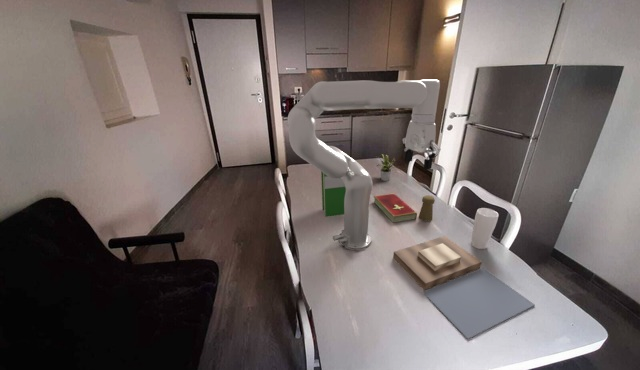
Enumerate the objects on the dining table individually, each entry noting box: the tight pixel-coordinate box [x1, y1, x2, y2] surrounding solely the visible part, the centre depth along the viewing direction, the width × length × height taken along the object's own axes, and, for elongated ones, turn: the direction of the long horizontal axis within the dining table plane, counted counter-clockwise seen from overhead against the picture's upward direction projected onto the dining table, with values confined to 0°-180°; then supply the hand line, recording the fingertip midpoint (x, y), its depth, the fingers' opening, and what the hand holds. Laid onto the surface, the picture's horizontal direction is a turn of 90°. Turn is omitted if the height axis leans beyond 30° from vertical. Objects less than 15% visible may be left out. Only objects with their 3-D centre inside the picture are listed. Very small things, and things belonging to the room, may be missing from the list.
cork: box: [418, 195, 436, 222], centre depth 113 cm, size 6×6×11 cm
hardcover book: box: [373, 192, 418, 223], centre depth 122 cm, size 12×21×4 cm, turn 13°
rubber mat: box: [422, 267, 535, 340], centre depth 74 cm, size 26×16×1 cm, turn 111°
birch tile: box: [418, 243, 461, 271], centre depth 86 cm, size 11×8×2 cm
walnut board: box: [392, 235, 483, 291], centre depth 88 cm, size 24×16×3 cm, turn 111°
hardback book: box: [320, 160, 358, 218], centre depth 119 cm, size 18×7×24 cm, turn 101°
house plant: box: [376, 153, 396, 182], centre depth 155 cm, size 14×14×16 cm
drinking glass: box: [470, 207, 500, 250], centre depth 93 cm, size 7×7×15 cm
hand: (417, 165), depth 92 cm, fingers open, 9 cm apart
